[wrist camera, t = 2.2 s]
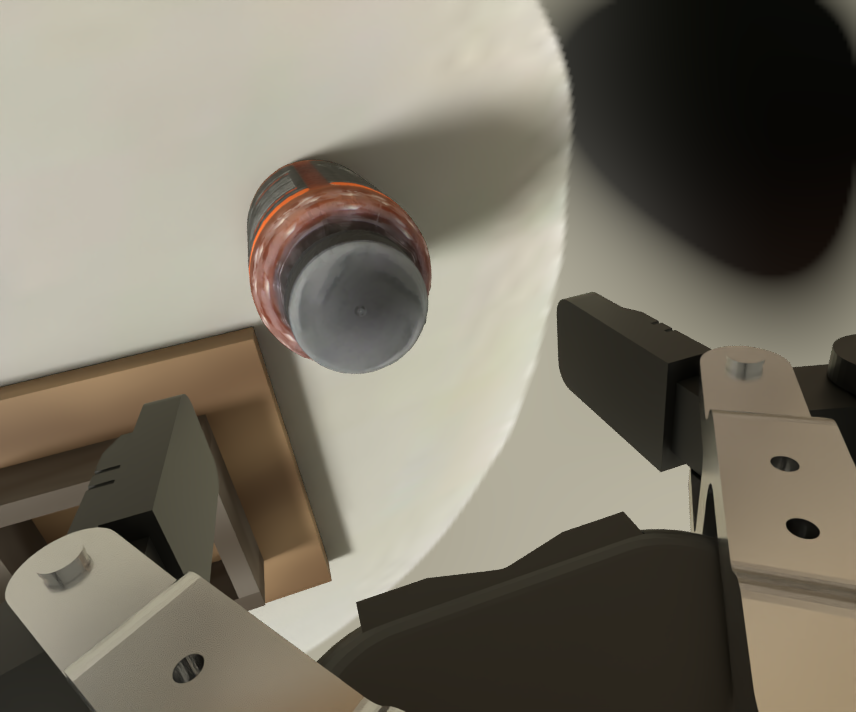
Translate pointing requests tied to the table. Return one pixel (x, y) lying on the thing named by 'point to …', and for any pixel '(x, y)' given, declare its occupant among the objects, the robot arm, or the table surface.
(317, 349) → the supplement bottle
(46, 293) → the table surface
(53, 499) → the cup holder
